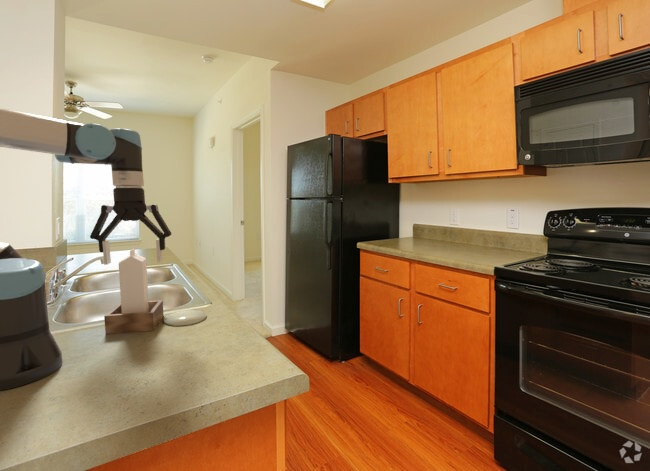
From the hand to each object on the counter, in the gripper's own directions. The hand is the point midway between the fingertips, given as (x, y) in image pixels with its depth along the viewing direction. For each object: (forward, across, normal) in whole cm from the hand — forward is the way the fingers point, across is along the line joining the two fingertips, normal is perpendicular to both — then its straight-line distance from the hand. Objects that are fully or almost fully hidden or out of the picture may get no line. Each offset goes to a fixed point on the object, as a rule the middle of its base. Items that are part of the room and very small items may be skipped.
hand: (134, 262), depth 99 cm
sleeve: (+18, 0, 0) cm, 18 cm away
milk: (+18, 0, 0) cm, 18 cm away
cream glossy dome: (+18, +13, +2) cm, 22 cm away
